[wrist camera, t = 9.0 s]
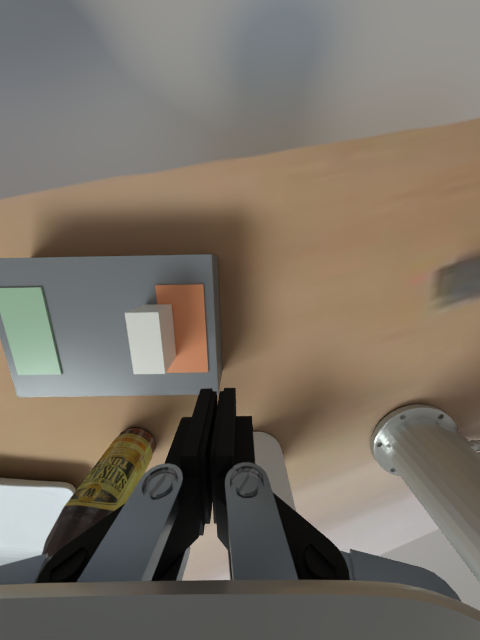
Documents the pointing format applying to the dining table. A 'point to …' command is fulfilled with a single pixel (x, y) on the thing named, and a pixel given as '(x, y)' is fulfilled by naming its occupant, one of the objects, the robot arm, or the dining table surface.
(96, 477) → the sauce bottle
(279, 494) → the pill bottle
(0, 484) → the salad plate
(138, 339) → the switch knob
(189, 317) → the switch box
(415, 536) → the dining table surface
